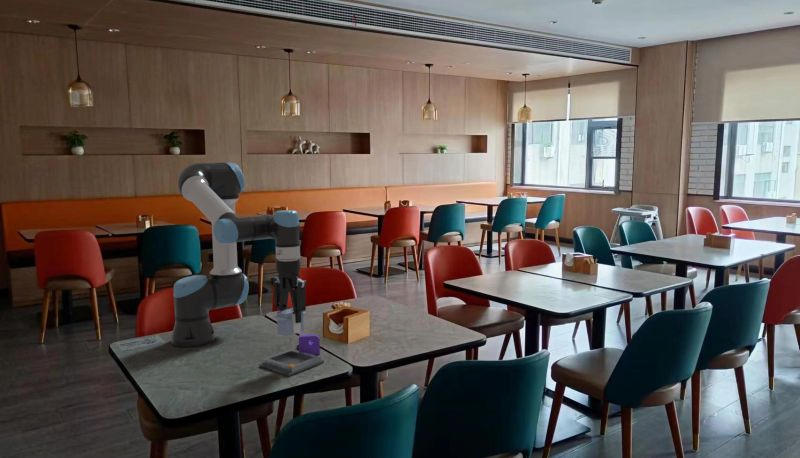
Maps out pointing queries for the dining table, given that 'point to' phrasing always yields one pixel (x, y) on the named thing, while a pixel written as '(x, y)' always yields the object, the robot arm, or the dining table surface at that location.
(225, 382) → the dining table surface
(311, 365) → the tray
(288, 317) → the servo
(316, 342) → the purple block
